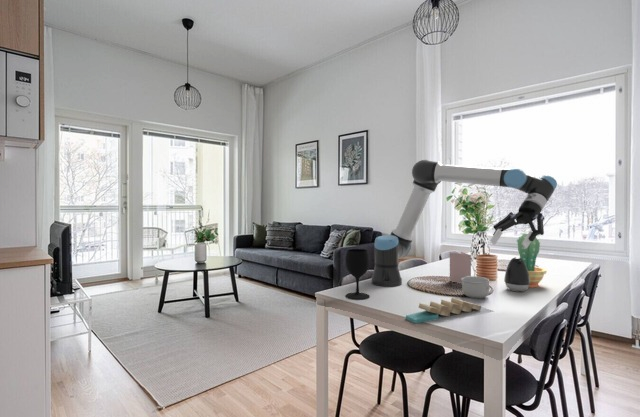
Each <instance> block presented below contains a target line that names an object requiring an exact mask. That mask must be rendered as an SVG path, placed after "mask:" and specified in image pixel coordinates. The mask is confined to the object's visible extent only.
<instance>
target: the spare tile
mask: <svg viewBox="0 0 640 417" xmlns="http://www.w3.org/2000/svg"><path fill="white" fill-rule="evenodd" d="M435 319H439V317H438V314H436V313H432V312H428V311H426V310H422V311H419V312H415V313H412V314H411V313H410V314H406V315H405V320H407V321H410V322H412V323H414V324H420V323H421V324H422V323H426V322H429V321H434V320H435ZM435 321H436V320H435Z"/></svg>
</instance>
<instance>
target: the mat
mask: <svg viewBox="0 0 640 417" xmlns="http://www.w3.org/2000/svg"><path fill="white" fill-rule="evenodd" d="M492 312H494V310H492V309H489V308H487V307H483V306H481V310H476V309H473V308H472V309H471V313H470V312H466V311H462V310H461V312H460V315H459V314H455V313H451V312H450V316H449V317H448V316H444V315H440V314H438V317H439V319H435V321H437V322H440V323H443V322H447V321H453V320H457V319H461V318H462V319H464V318H467V317H472V316H477V315H482V314H486V313H487V314H488V313H492Z"/></svg>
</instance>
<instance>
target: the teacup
mask: <svg viewBox="0 0 640 417" xmlns="http://www.w3.org/2000/svg"><path fill="white" fill-rule="evenodd" d="M461 280H462V284H461V289H462V293H463V295H465V296H466V297H467V298H471V299H477V300H478V299H479V300H481V299H485V297H486V298H487V296H489V293H490V279H489V278H487V277H483V276H477V275H476V276H473V275H471V276H466V277H463V278H462V279H461Z"/></svg>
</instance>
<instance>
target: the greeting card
mask: <svg viewBox="0 0 640 417" xmlns="http://www.w3.org/2000/svg"><path fill="white" fill-rule="evenodd" d="M466 276H472V255H471V254H469V253H467V252H466V253H465V252H462V251H460V253H457V252H449V282H450V281H452V282H451V283H453V282H457V283H456V284H458V283H461V284H460V285H462V280H461V279H462V278H463V277H466Z"/></svg>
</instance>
